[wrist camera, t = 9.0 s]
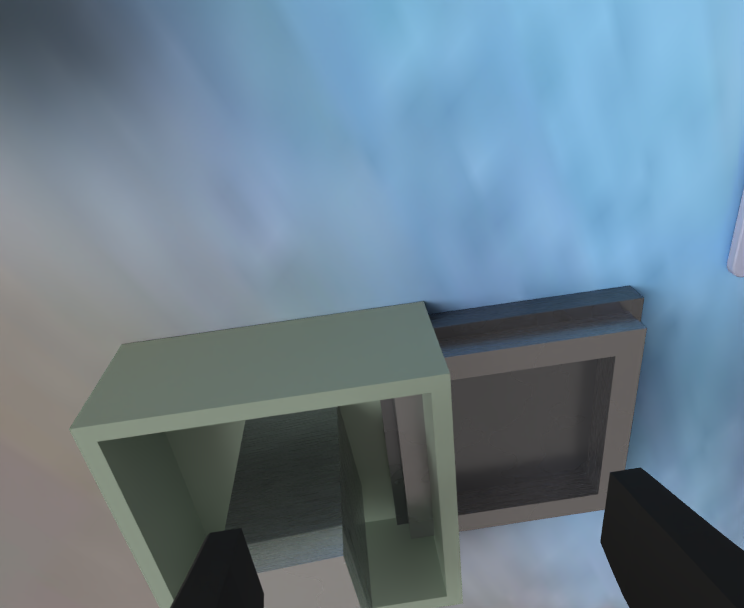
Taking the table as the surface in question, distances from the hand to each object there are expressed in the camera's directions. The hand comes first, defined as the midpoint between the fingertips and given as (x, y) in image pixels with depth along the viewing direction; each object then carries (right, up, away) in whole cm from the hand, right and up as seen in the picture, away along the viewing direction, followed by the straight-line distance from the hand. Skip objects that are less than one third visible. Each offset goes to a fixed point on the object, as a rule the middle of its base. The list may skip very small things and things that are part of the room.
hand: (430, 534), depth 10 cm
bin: (-4, -1, +12) cm, 12 cm away
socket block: (+4, 0, +12) cm, 13 cm away
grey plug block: (-4, -2, +11) cm, 12 cm away
